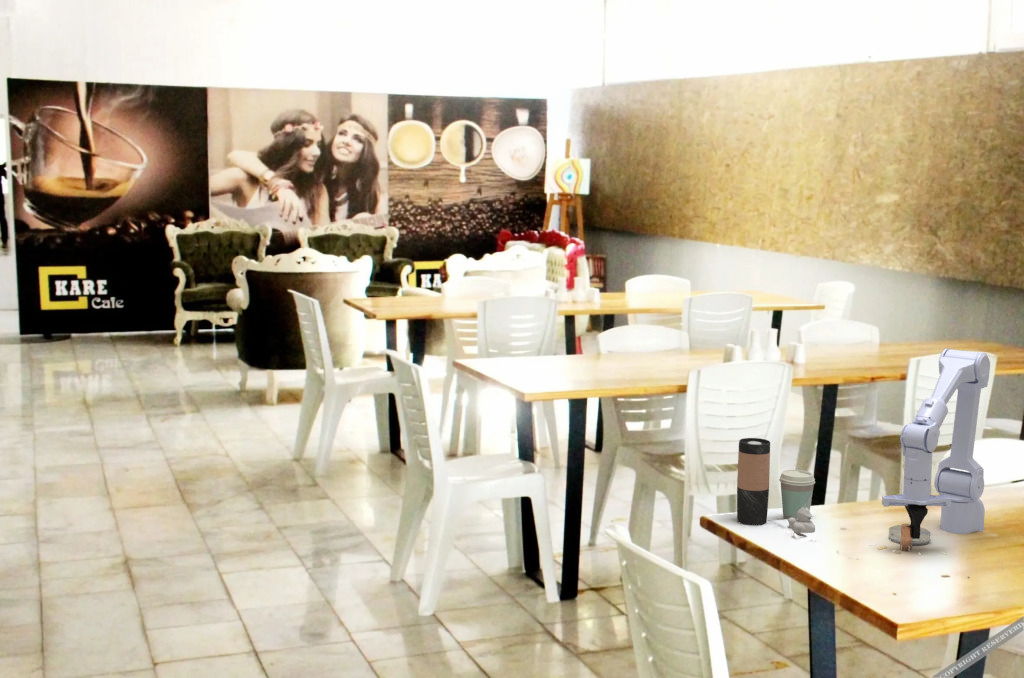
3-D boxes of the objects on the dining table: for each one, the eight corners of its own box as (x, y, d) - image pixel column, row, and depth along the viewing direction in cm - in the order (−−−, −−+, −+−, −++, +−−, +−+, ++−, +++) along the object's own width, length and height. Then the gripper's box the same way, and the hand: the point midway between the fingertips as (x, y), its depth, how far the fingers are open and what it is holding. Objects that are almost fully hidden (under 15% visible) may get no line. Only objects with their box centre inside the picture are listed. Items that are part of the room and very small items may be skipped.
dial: (890, 531, 275) (892, 508, 274) (931, 536, 271) (932, 513, 271) (883, 548, 263) (885, 524, 262) (926, 553, 259) (927, 529, 258)
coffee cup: (814, 527, 283) (816, 478, 282) (778, 525, 285) (779, 476, 283) (812, 517, 292) (814, 470, 290) (777, 515, 293) (779, 468, 292)
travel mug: (774, 522, 287) (777, 442, 284) (752, 527, 283) (755, 446, 280) (751, 515, 293) (753, 436, 290) (729, 520, 289) (731, 440, 286)
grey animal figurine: (809, 541, 273) (810, 507, 272) (782, 535, 277) (784, 502, 276) (818, 535, 277) (820, 502, 276) (792, 530, 281) (793, 497, 280)
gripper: (889, 482, 256) (886, 542, 257) (957, 482, 255) (953, 543, 257) (880, 474, 263) (877, 533, 264) (945, 474, 262) (942, 533, 264)
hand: (914, 537), depth 261 cm, fingers closed, pressing on dial
